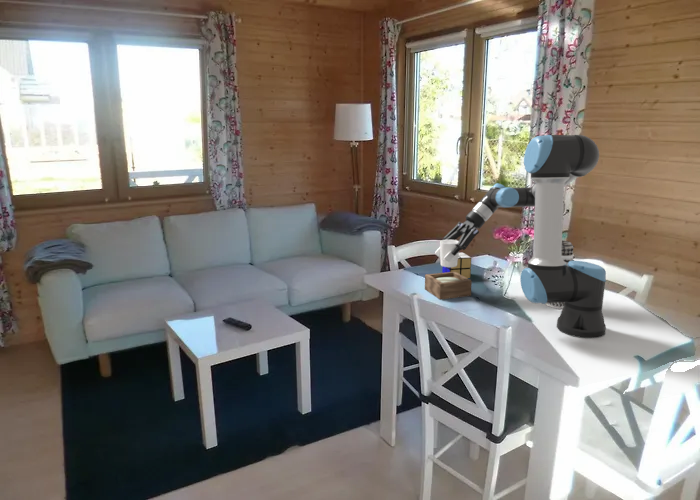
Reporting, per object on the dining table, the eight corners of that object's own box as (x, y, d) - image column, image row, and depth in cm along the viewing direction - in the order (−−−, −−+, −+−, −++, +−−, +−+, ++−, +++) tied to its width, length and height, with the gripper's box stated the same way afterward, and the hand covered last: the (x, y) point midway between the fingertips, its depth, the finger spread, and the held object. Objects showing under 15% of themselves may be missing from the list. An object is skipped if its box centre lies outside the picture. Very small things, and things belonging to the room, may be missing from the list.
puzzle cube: (441, 274, 242) (442, 253, 240) (462, 272, 244) (463, 252, 241) (449, 280, 232) (450, 258, 230) (470, 278, 234) (471, 257, 232)
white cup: (458, 268, 208) (459, 244, 206) (438, 267, 210) (439, 243, 207) (458, 263, 216) (459, 239, 213) (439, 262, 217) (440, 239, 215)
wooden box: (470, 295, 211) (471, 280, 209) (439, 299, 207) (440, 283, 205) (454, 285, 224) (454, 271, 222) (424, 289, 220) (425, 274, 218)
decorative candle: (575, 306, 198) (582, 242, 192) (558, 310, 194) (564, 245, 188) (556, 299, 206) (561, 238, 200) (539, 303, 202) (544, 240, 196)
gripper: (497, 226, 203) (459, 269, 203) (471, 217, 222) (435, 257, 222) (486, 214, 201) (447, 257, 200) (460, 206, 220) (424, 246, 219)
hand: (441, 257), depth 211 cm, fingers closed on white cup, 8 cm apart
